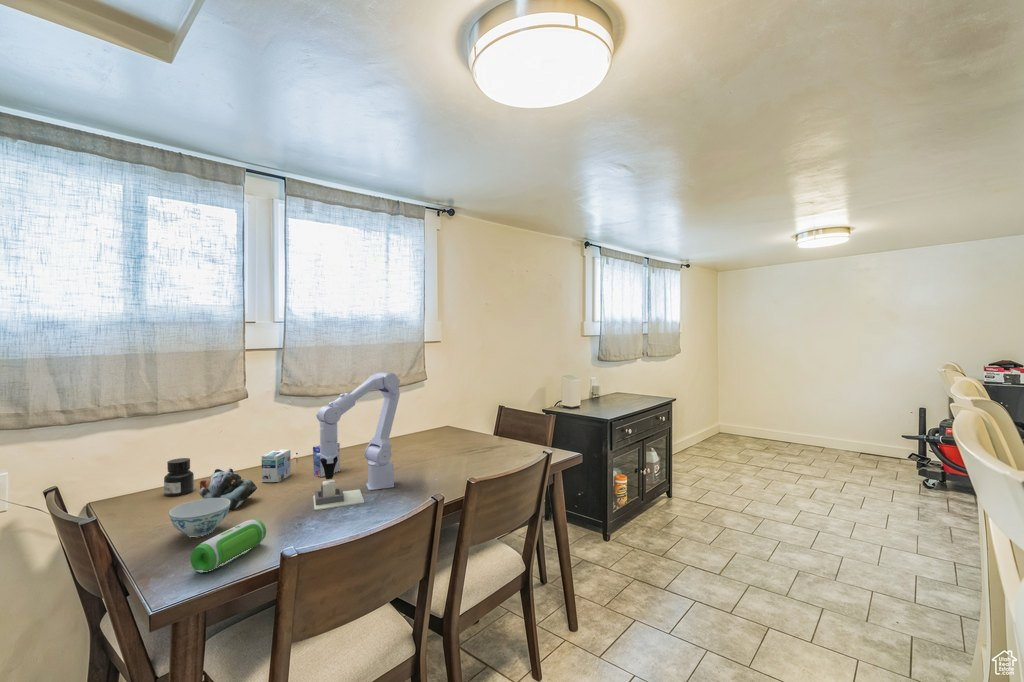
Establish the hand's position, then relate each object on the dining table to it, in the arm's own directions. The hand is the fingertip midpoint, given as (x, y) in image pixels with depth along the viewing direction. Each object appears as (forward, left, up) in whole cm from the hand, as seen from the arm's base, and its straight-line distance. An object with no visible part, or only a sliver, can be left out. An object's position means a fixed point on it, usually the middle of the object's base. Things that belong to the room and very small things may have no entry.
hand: (329, 478), depth 161 cm
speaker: (+26, +33, -8) cm, 43 cm away
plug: (0, 0, -7) cm, 7 cm away
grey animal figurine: (+32, -10, -8) cm, 34 cm away
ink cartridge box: (-1, -34, -8) cm, 35 cm away
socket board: (-3, +1, -8) cm, 8 cm away
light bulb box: (+18, -35, -8) cm, 40 cm away
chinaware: (+36, +12, -8) cm, 39 cm away
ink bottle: (+50, -32, -8) cm, 60 cm away
